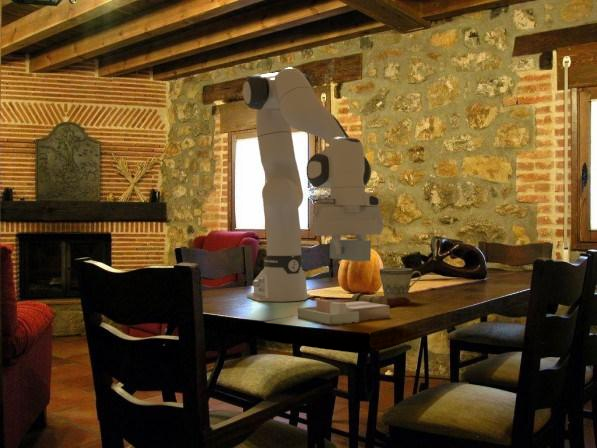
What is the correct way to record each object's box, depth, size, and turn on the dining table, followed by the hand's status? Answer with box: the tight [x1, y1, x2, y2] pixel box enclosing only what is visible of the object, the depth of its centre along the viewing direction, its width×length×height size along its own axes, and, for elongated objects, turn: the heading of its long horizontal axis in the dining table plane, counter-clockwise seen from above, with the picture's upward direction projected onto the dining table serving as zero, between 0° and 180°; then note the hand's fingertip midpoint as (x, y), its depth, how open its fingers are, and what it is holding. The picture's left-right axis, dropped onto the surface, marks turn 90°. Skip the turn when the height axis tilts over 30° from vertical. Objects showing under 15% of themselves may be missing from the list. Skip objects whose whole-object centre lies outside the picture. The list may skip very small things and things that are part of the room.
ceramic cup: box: [379, 267, 422, 299], centre depth 189 cm, size 13×10×10 cm
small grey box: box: [329, 238, 372, 262], centre depth 156 cm, size 12×4×5 cm, turn 32°
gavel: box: [350, 293, 413, 307], centre depth 176 cm, size 21×5×10 cm
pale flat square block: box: [343, 301, 391, 322], centre depth 158 cm, size 12×11×3 cm
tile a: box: [316, 299, 333, 314], centre depth 156 cm, size 4×4×2 cm
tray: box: [297, 305, 360, 326], centre depth 153 cm, size 14×8×2 cm, turn 32°
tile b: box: [330, 301, 346, 314], centre depth 151 cm, size 4×4×2 cm
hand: (348, 253), depth 157 cm, fingers closed on small grey box, 4 cm apart
